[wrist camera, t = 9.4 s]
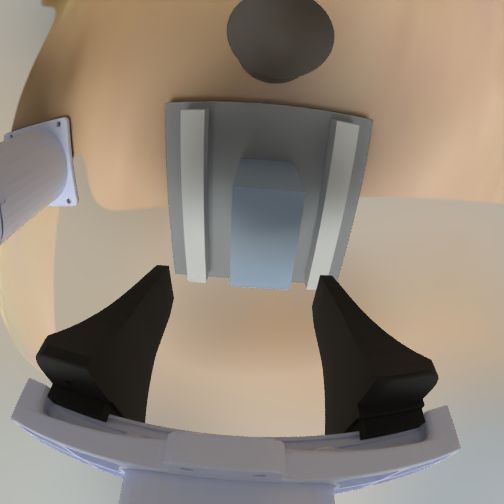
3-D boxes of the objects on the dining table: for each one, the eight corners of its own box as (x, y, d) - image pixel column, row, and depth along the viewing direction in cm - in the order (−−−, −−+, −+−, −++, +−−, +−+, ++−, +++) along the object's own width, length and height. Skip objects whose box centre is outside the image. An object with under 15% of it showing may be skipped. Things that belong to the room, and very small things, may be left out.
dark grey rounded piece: (235, 81, 16) (223, 74, 11) (239, 17, 13) (230, -13, 8) (309, 87, 16) (330, 84, 11) (314, 23, 13) (336, -2, 8)
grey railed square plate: (178, 266, 24) (170, 284, 22) (170, 102, 17) (157, 104, 14) (333, 277, 24) (339, 295, 22) (367, 118, 17) (381, 122, 15)
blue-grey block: (237, 235, 21) (229, 286, 16) (240, 158, 18) (232, 186, 13) (283, 238, 21) (289, 289, 16) (292, 162, 18) (305, 192, 13)
